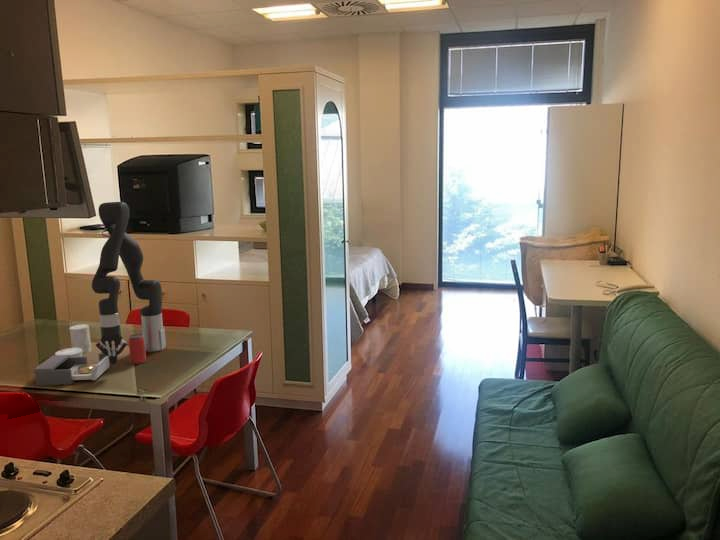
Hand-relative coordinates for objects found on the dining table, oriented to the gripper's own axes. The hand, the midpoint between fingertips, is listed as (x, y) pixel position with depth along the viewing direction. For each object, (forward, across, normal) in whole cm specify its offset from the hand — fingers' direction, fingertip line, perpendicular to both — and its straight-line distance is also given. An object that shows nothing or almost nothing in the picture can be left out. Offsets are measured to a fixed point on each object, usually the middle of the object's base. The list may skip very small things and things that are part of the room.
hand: (114, 364), depth 246 cm
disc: (+3, -12, 0) cm, 12 cm away
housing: (+5, -22, 0) cm, 22 cm away
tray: (+4, -12, 0) cm, 13 cm away
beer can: (+5, +4, +16) cm, 18 cm away
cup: (+5, -28, +33) cm, 44 cm away
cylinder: (+5, -10, +14) cm, 18 cm away
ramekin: (+5, -27, +18) cm, 33 cm away
